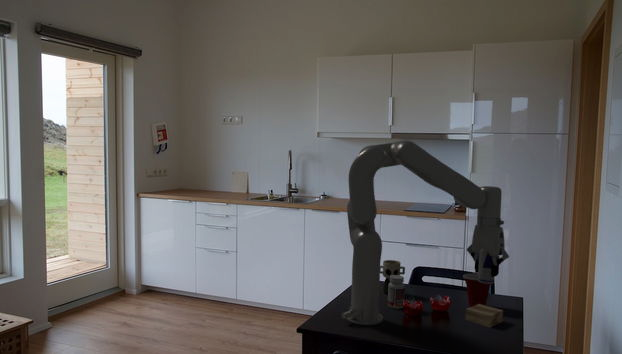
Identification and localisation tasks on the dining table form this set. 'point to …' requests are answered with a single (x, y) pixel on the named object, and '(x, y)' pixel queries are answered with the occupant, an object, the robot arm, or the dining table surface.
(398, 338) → the dining table surface
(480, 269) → the energy drink
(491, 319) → the oak block
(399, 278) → the pill bottle
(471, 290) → the plastic cup
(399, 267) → the character mug
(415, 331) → the dining table surface
